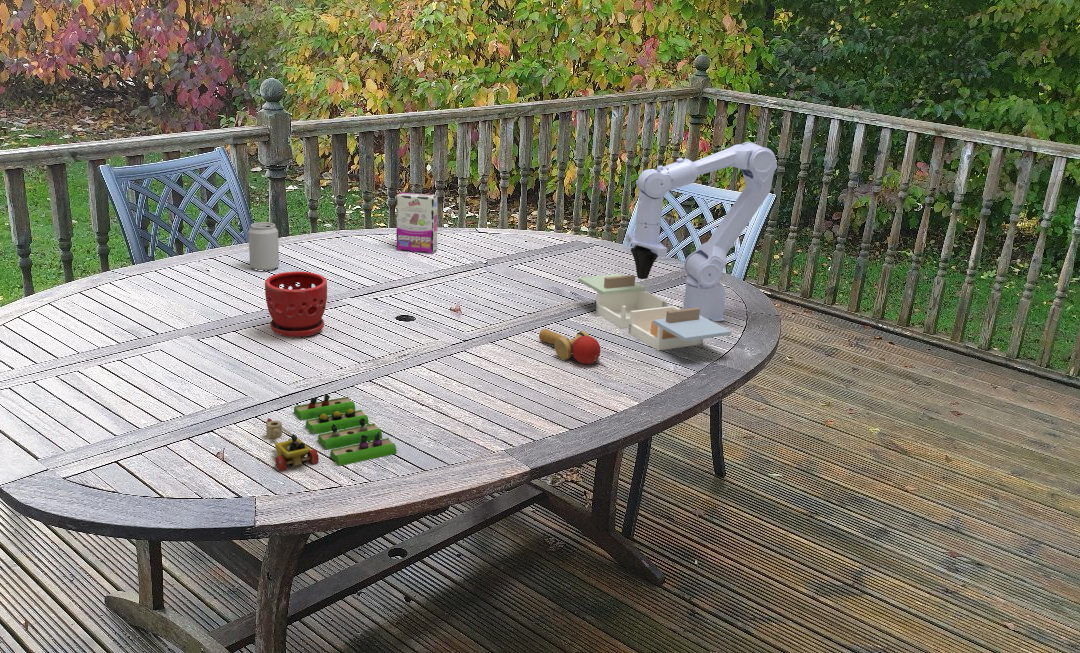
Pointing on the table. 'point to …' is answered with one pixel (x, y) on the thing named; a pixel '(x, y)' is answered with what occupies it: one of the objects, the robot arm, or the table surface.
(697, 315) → the lid
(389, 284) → the table surface
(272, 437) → the toy garden set
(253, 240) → the can
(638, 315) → the crate
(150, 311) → the table surface
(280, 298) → the plant pot
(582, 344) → the kendama
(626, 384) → the table surface
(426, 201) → the candy bar box
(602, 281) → the lid
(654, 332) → the block
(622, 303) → the crate
